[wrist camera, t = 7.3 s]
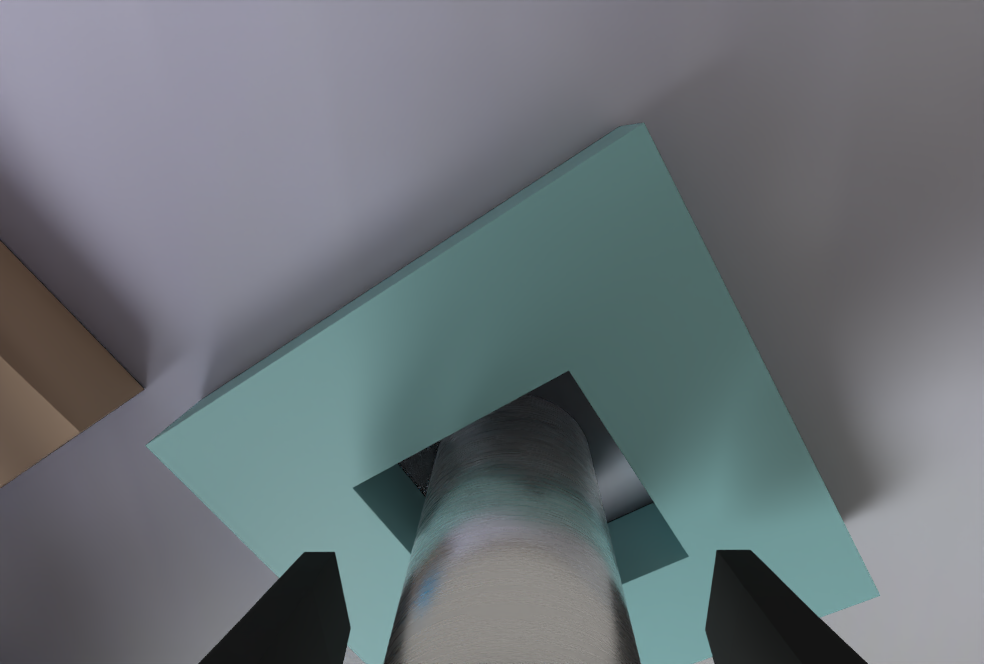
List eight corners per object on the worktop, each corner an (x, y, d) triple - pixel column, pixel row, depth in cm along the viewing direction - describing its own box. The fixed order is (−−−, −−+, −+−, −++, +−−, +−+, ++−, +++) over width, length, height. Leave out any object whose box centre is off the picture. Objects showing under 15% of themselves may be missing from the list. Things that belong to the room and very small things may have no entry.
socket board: (460, 679, 16) (453, 750, 14) (199, 400, 13) (145, 445, 11) (828, 532, 13) (879, 595, 11) (619, 126, 10) (644, 122, 8)
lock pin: (492, 555, 14) (466, 1017, 7) (390, 440, 13) (219, 849, 5) (634, 482, 13) (794, 938, 6) (538, 349, 12) (577, 706, 4)
